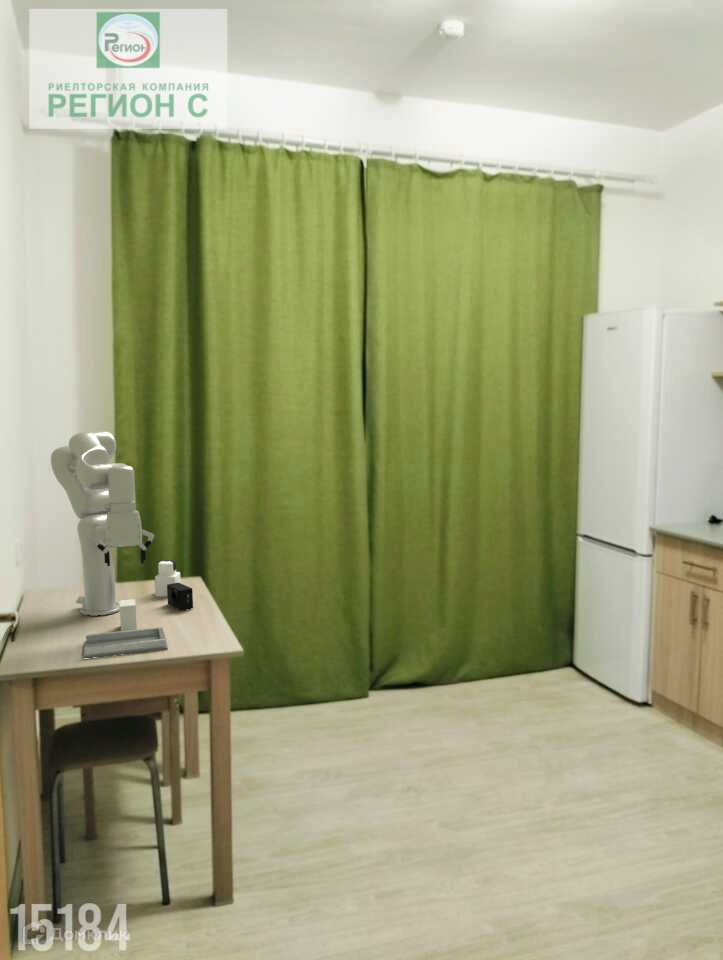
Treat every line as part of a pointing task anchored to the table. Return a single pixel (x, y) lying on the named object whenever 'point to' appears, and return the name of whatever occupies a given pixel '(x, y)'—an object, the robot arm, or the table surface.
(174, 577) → the medicine bottle
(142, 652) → the plate
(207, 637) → the table surface
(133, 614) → the block
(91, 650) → the rail guides
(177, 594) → the digital camera
